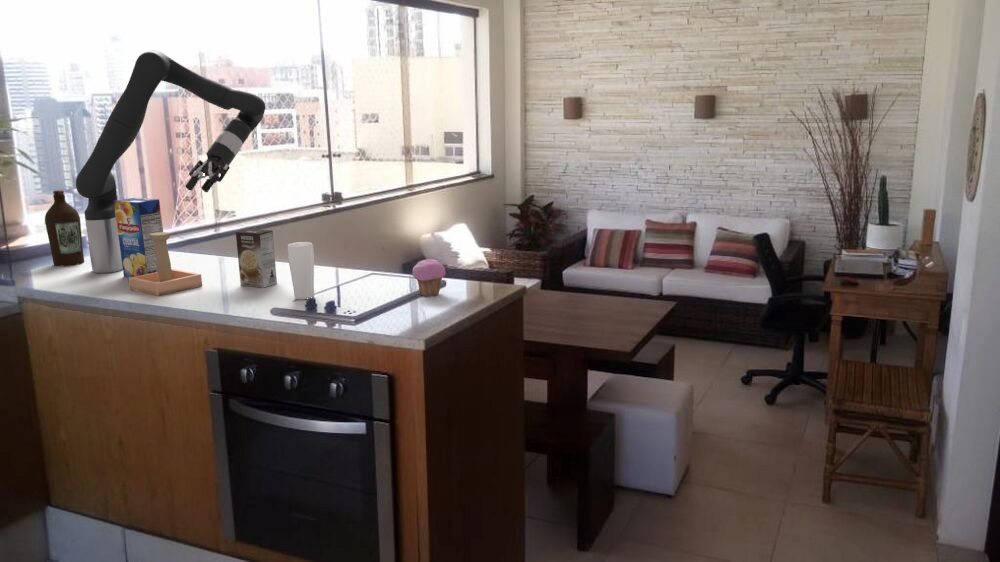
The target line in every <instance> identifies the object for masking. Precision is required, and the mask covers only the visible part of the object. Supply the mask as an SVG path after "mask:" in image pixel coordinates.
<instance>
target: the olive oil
mask: <svg viewBox="0 0 1000 562" xmlns="http://www.w3.org/2000/svg"><path fill="white" fill-rule="evenodd" d="M64 191H65V190H63V189H59V190H53V191H52V193H53V196H52V197H53V203H52V205H51V206H50V208H49V209H48V210H47V211H46V212H45V216H44V224H45V227H46V233H47V237H48V241H49V243H48V244H49V248H50V251H51V259H52V263H53V265H54V267H55V266H56V267H67V266H69V267H71V266H76V265H80V264H83V263H84V262H85V255H84V246H83V245H84V244H83V237H82V224H81V217H80V214H79V211H77V210H76V209H75V208H74V207H73V206H72V205H70V204H69V203H68V202H67V201H66V196H65V194H64Z"/></svg>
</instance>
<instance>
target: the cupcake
mask: <svg viewBox="0 0 1000 562" xmlns="http://www.w3.org/2000/svg"><path fill="white" fill-rule="evenodd" d="M445 276H446V268H445V266H444V265H443V264H442V263H441V262H439V261H438V260H436V259H434V258H432V259H431V258H427V259H423V260H420V261H418V262H417V263H416V264H415V265H414V266H413V268H412V277H413V278H414V279H416V280H417V283H418V284H417V285H418V292H419V294H420V295H421V296H423V297H429V296H438V295H439V293H440V290H441V284H442V280H443V278H444V277H445Z"/></svg>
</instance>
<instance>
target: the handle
mask: <svg viewBox="0 0 1000 562" xmlns="http://www.w3.org/2000/svg"><path fill="white" fill-rule="evenodd" d="M149 235H150V239H151V240H152V241H154V244H155V254H156V265H157V272H158V276H159V279H160V282H164V281H169V280H172V279H171V277H172V273H171V272H172V271H171V269H172V264H171V259H170V254H169V247H168V244H167V241H168V239H170V238H171V236H170V232H166V231H165V232H164V231H163V232H157V233H151V234H149Z"/></svg>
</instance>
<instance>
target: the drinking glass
mask: <svg viewBox="0 0 1000 562" xmlns="http://www.w3.org/2000/svg"><path fill="white" fill-rule="evenodd" d="M287 257H288V266H289V270H290V276H291V282H292V286H293V287H292V288H293V297H294V299H296V300H298V301H306V300H305V299H307V298H311V297H313V298H314V297H315V258H314V257H315V253H314V245H313V242H309V241H296V242H292V243H289V244H287ZM311 299H312V298H311ZM307 300H308V299H307Z"/></svg>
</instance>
